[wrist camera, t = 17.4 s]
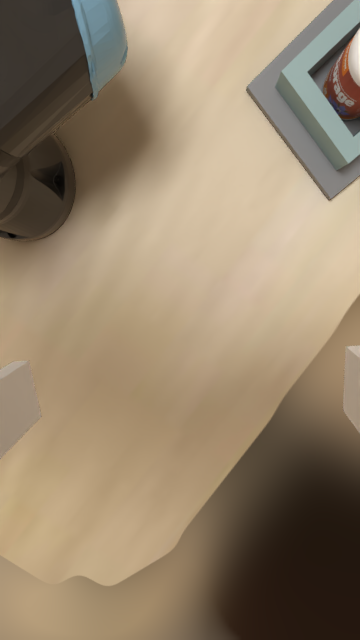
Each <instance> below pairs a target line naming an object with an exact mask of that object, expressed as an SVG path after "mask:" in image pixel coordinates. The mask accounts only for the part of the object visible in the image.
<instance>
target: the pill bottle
mask: <svg viewBox="0 0 360 640" xmlns="http://www.w3.org/2000/svg"><path fill="white" fill-rule="evenodd" d="M322 93H323V95H324V96H325V97H326V99H327V100H328V102H329V103H330V104H331V106H332V107H333V109H334V110H335V111H336V113H337V114H338V116H339V117H340V118H341V119H342V120H352V119H356V118H358V117H360V28H359V30H358V31H357V32H356V34H355V35H354V37H353V38H352V39H351V41H350V42H349V44H348V45H347V47H346V48H345V49H344V51H343V52H342V54H341V55H340V57H339V58H338V59H337V61H336V62H335V64H334V65H333V66H332V68H331V69H330V71H329V72H328V74H327V76H326V78H325V81H324V84H323V90H322Z"/></svg>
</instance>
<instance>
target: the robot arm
mask: <svg viewBox="0 0 360 640" xmlns="http://www.w3.org/2000/svg"><path fill="white" fill-rule="evenodd" d="M127 50H128V47H127V37H126V31H125V27H124V23H123V19H122V16H121V12H120V9H119V6H118V3H117V0H0V237H2V238H6V239H10V240H36V239H41V238H43V237H46V236H48V235H50V234H52V233H53V232H54V231H56V230H57V229H58V228H59V227H60V226H61V225H62V224H63V223H64V221H65V220H66V218H67V217H68V215H69V213H70V211H71V208H72V205H73V202H74V197H75V176H74V170H73V166H72V163H71V160H70V158H69V156H68V153H67V152H66V150H65V148H64V146H63V145H62V144H61V142H60V141H59V140H58V138H57V137H56V136H55V135H54V134H53V132H54V131H55V130H56V129H57V128H59V127H60V126H61V125H62V124H63V123H64V122H65V121H67V120H68V119H69V118H70V117H71V116H72V115H74V114H75V113H76V112H77V111H78V110H79V109H80V108H82V107H83V106H84V105H85V104H86V103H87V102H88V101H90V100H92V101H93V100H95V99H96V98H97V96H98V92H99V91H100V90H101V89H102V88H103V87H104V86H105V85H106V84H107V83H108V82H109V81H110V80H111V79H112V78H113V77H114V76H115V75H116V74H117V73H118V72H119V71H120V70H121V69H122V67H123V65H124V63H125V61H126V57H127ZM343 411H344V412H345V414H346V415H347V417H348V418H349V419H350V421H351V422H352V423H353V425H354V426H355V427H356V429H357V430H358V431H359V433H360V346H346V354H345V375H344V398H343ZM41 417H42V416H41V411H40V407H39V402H38V398H37V393H36V389H35V384H34V380H33V375H32V371H31V366H30V362H29V361H13V362H11V363H10V364H8V365H6V366H5V367H3V368H1V369H0V459H1V458H2V457H3V456H4V455H5V454H6V453H7V452H8V451H9V450H10V449H11V448H12V447H13V446H14V445H15V444H16V442H17V441H18V440H19V439H20V438H21V437H22V436H23V435H24V434H25V433H26V432H27V431H28V430H29V429H30V428H31V427H32V426H33V425H34V424H35V423H36V422H37V421H38V420H39V419H40V418H41Z"/></svg>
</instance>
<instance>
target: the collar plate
mask: <svg viewBox="0 0 360 640" xmlns="http://www.w3.org/2000/svg"><path fill="white" fill-rule="evenodd" d="M359 28H360V0H333V1H332V2H331V3H330V4H329V5H328V6H327V7H326V8H325V9H324V10H323V11H322V12H321V13H320V14H319V15H318V16H317V17H316V18H315V19H314V20H313V21H312V22H311V23H310V24H309V25H308V26H307V27H306V28H305V29H304V30H303V31H302V32H301V33H300V34H299V35H298V36H297V37H296V38H295V39H294V40H293V41H292V42H291V43H290V44H289V45H288V46H287V47H286V48H285V49H284V50H283V51H282V52H281V53H280V54H279V55H278V56H277V57H276V58H275V59H274V60H273V61H272V62H271V63H270V64H269V65H268V66H267V67H266V68H265V69H264V70H263V71H262V72H261V73H260V74H259V75H258V76H257V77H256V78H255V79H254V80H253V81H252V82H251V83H250V84H249V85H248V86H247V89H246V91H247V92H248V93H249V95H250V96H251V97H252V99H253V100H254V101H255V103H256V104H257V105H258V107H259V108H260V109H261V111H262V112H263V113H264V115H265V116H266V117H267V119H268V120H269V121H270V123H271V124H272V125H273V127H274V128H275V129H276V131H277V132H278V133H279V135H280V136H281V137H282V139H283V140H284V141H285V143H286V144H287V145H288V147H289V148H290V149H291V151H292V152H293V153H294V155H295V156H296V157H297V159H298V160H299V161H300V163H301V164H302V166H303V167H304V168H305V170H306V171H307V172H308V174H309V175H310V176H311V178H312V179H313V180H314V182H315V183H316V184H317V186H318V187H319V188H320V190H321V191H322V192H323V194H324V195H325V196H326V198H327V199H328V200H329V199H331V198H333V197H334V196H335V195H336V194H338V193H339V192H340V191H341V190H342V189H344V188H345V187H346V186H347V185H349V184H350V183H351V182H352V181H353V180H355V179H356V178H357V177H358V176H360V117H358V118H356V119H352V120H342V119H341V118H340V117H339V116H338V114H337V113H336V111H335V110H334V109H333V107H332V106H331V104H330V103H329V102H328V100H327V99H326V97H325V96H324V95H323V93H322V90H323V84H324V81H325V78H326V76H327V74H328V72H329V71H330V69H331V68H332V66H333V65H334V64H335V62H336V61H337V59H338V58H339V57H340V55H341V54H342V52H343V51H344V49H345V48H346V47H347V45H348V44H349V42H350V41H351V39H352V38H353V37H354V35H355V34H356V32H357V31H358V30H359Z"/></svg>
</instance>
